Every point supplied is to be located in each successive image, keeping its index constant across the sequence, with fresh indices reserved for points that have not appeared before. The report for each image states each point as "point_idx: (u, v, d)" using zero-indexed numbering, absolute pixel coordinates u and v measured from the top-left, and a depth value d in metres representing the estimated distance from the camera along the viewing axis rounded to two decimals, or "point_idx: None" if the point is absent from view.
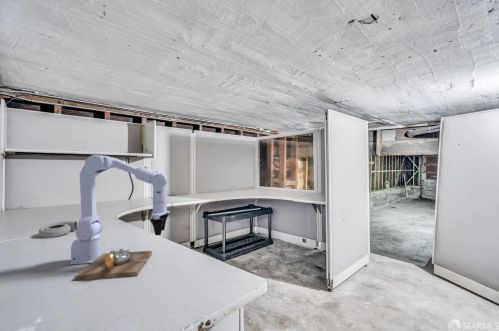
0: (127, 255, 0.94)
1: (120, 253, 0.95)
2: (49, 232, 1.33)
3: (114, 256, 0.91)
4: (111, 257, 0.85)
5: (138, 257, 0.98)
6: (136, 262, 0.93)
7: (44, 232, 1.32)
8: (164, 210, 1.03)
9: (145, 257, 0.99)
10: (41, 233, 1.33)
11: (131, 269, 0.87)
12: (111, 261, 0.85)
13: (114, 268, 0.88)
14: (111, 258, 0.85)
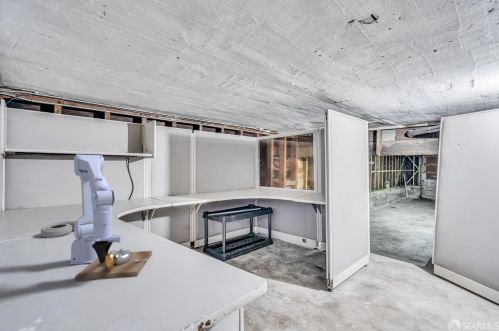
0: (127, 255, 0.94)
1: (120, 253, 0.95)
2: (51, 232, 1.33)
3: (114, 256, 0.91)
4: (111, 257, 0.85)
5: (138, 257, 0.98)
6: (136, 262, 0.93)
7: (46, 232, 1.33)
8: (93, 235, 0.84)
9: (145, 257, 0.99)
10: (43, 233, 1.33)
11: (131, 269, 0.87)
12: (111, 261, 0.85)
13: (114, 268, 0.88)
14: (111, 258, 0.85)
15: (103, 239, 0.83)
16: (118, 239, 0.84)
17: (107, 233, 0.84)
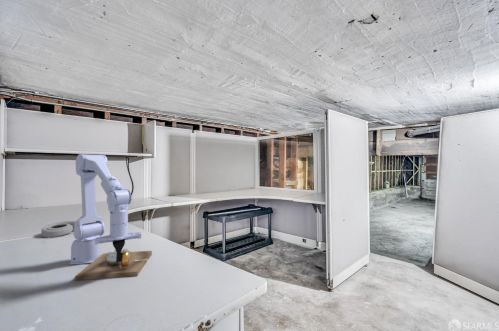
0: (129, 253, 0.96)
1: None
2: (52, 232, 1.33)
3: None
4: (128, 254, 0.88)
5: (138, 257, 0.98)
6: (136, 262, 0.93)
7: (47, 232, 1.33)
8: (113, 235, 0.84)
9: (145, 257, 0.99)
10: (44, 233, 1.33)
11: (131, 269, 0.87)
12: (128, 258, 0.88)
13: (114, 268, 0.88)
14: (128, 255, 0.88)
15: (125, 237, 0.86)
16: (139, 235, 0.89)
17: (127, 231, 0.87)
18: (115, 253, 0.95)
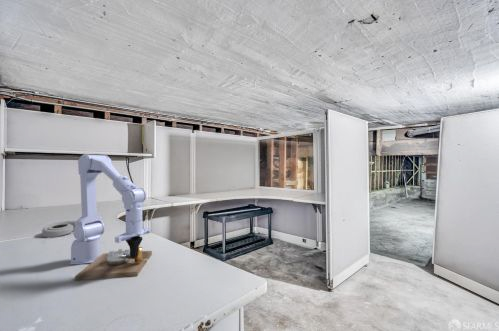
0: None
1: (118, 253, 0.95)
2: (52, 232, 1.33)
3: (126, 253, 0.93)
4: None
5: None
6: (136, 262, 0.93)
7: (47, 232, 1.33)
8: (134, 232, 0.88)
9: (145, 257, 0.99)
10: (44, 233, 1.33)
11: (131, 269, 0.87)
12: None
13: (114, 268, 0.88)
14: None
15: (143, 232, 0.92)
16: (149, 230, 0.96)
17: None
18: (113, 254, 0.94)
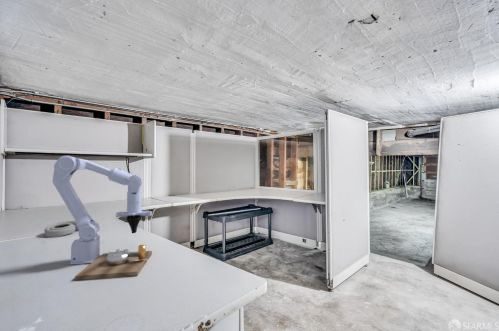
0: None
1: (117, 253, 0.95)
2: (55, 231, 1.34)
3: (128, 252, 0.94)
4: None
5: None
6: (136, 262, 0.93)
7: (50, 231, 1.34)
8: (128, 211, 1.05)
9: None
10: (47, 232, 1.34)
11: (131, 269, 0.87)
12: None
13: (114, 268, 0.88)
14: None
15: (137, 213, 1.06)
16: (149, 213, 1.08)
17: (139, 209, 1.07)
18: (113, 254, 0.93)
